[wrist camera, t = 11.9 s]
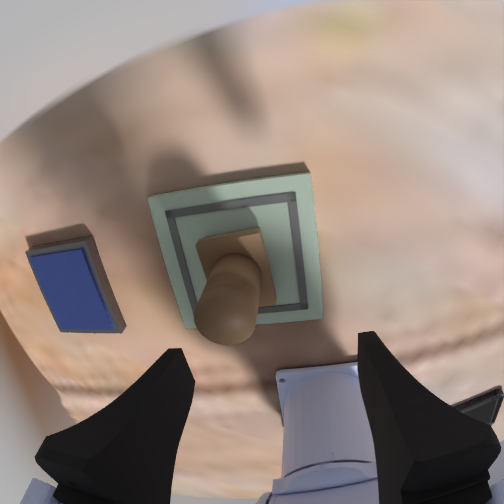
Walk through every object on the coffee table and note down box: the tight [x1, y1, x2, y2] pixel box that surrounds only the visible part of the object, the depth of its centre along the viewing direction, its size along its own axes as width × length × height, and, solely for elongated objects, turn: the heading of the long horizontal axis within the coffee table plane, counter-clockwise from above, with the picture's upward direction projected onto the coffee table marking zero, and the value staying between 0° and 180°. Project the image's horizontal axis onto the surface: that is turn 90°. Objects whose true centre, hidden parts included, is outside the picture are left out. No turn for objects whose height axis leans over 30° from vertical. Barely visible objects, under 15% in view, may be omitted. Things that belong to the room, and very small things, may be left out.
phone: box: [453, 389, 504, 426], centre depth 28 cm, size 8×1×15 cm
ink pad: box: [26, 236, 126, 333], centre depth 23 cm, size 8×7×1 cm
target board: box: [147, 172, 323, 329], centre depth 21 cm, size 10×10×1 cm
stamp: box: [194, 227, 277, 345], centre depth 18 cm, size 5×4×6 cm
